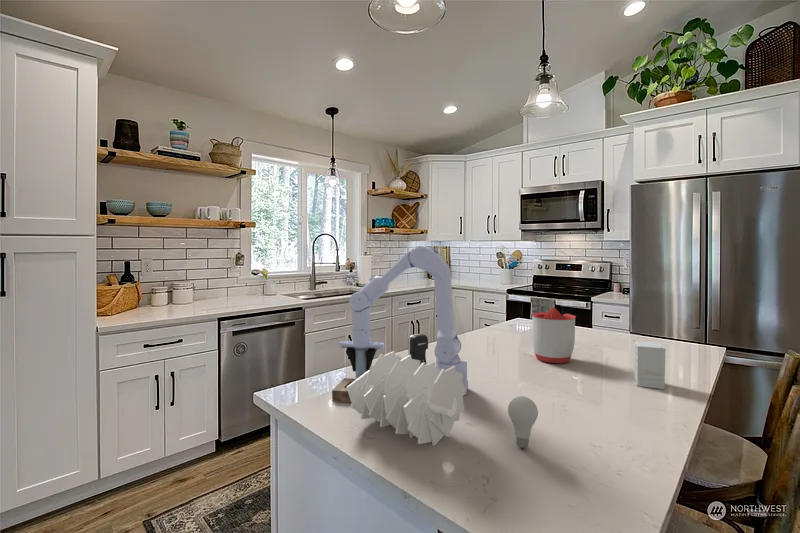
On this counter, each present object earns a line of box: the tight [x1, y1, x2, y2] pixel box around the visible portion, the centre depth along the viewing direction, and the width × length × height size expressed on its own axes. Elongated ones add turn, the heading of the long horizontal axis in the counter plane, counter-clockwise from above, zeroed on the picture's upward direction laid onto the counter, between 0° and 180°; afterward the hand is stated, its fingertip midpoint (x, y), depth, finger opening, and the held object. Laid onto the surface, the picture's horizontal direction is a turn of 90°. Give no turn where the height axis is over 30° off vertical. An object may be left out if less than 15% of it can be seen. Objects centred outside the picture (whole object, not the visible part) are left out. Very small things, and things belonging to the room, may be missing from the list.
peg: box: [355, 349, 368, 379], centre depth 130 cm, size 4×4×10 cm
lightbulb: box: [507, 395, 539, 449], centre depth 86 cm, size 6×6×11 cm
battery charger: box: [407, 333, 429, 365], centre depth 145 cm, size 7×4×11 cm, turn 125°
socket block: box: [331, 377, 356, 403], centre depth 117 cm, size 11×11×3 cm
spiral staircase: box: [347, 350, 466, 447], centre depth 94 cm, size 18×18×25 cm
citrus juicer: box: [531, 306, 577, 365], centre depth 153 cm, size 16×17×20 cm
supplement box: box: [634, 340, 667, 390], centre depth 125 cm, size 7×7×13 cm
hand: (361, 371), depth 130 cm, fingers closed on peg, 4 cm apart
